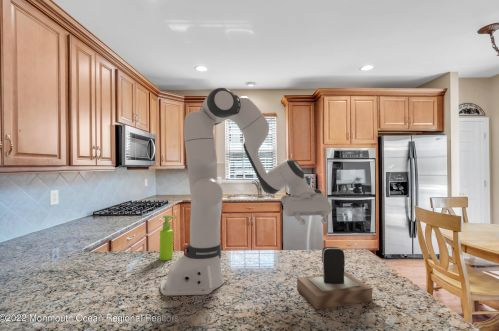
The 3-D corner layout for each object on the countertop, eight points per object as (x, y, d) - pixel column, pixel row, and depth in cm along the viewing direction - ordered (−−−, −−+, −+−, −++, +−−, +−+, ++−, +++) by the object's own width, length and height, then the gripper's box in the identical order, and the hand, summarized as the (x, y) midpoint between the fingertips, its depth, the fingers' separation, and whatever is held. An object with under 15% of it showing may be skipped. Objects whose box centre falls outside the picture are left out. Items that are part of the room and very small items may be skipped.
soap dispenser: (170, 261, 110) (171, 217, 111) (156, 259, 112) (157, 216, 112) (176, 256, 116) (177, 215, 117) (163, 255, 117) (164, 214, 118)
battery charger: (341, 279, 83) (341, 245, 83) (345, 284, 79) (345, 249, 79) (320, 278, 83) (320, 245, 83) (323, 283, 79) (323, 249, 80)
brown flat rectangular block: (317, 309, 72) (317, 295, 72) (297, 289, 84) (297, 276, 84) (372, 300, 77) (372, 287, 77) (345, 282, 90) (345, 271, 90)
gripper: (281, 191, 98) (292, 219, 88) (325, 190, 103) (340, 217, 93) (277, 200, 102) (287, 229, 92) (320, 199, 107) (333, 226, 98)
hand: (314, 223), depth 93 cm, fingers open, 8 cm apart
